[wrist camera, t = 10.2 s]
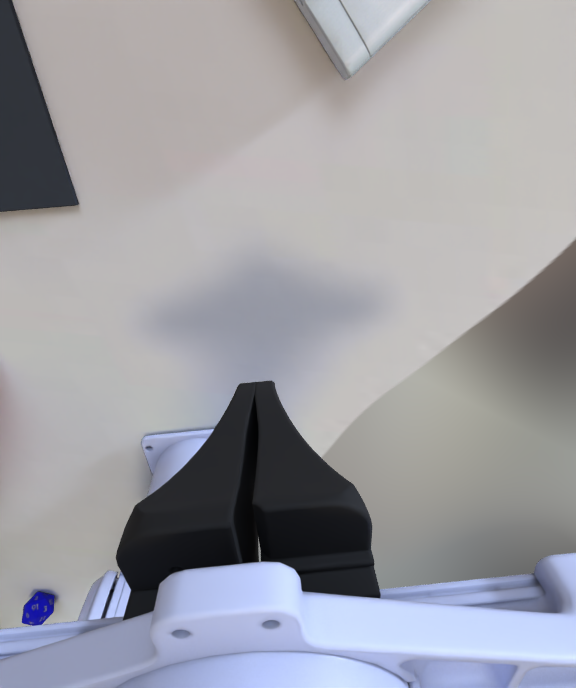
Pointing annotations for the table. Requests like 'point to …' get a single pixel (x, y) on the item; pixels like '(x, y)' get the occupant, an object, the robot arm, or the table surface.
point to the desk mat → (26, 130)
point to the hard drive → (356, 27)
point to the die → (38, 609)
